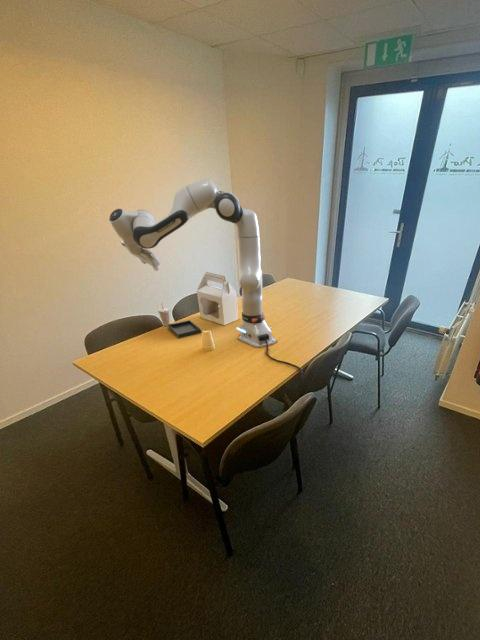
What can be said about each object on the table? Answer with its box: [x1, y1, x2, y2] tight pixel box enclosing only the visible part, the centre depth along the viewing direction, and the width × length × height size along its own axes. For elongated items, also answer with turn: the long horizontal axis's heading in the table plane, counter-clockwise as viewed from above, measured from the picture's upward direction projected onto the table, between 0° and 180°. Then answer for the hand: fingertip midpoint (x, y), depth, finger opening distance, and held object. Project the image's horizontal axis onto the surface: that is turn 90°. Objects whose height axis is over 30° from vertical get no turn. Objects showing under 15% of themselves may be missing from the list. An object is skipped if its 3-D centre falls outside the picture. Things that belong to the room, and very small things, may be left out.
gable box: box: [196, 271, 239, 326], centre depth 186 cm, size 22×13×28 cm, turn 55°
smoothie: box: [157, 302, 171, 327], centre depth 179 cm, size 6×6×14 cm
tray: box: [167, 319, 202, 339], centre depth 176 cm, size 17×14×2 cm
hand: (150, 266), depth 156 cm, fingers open, 8 cm apart
